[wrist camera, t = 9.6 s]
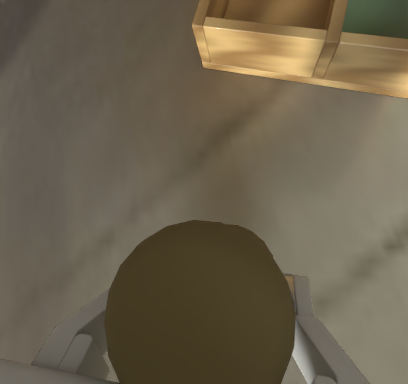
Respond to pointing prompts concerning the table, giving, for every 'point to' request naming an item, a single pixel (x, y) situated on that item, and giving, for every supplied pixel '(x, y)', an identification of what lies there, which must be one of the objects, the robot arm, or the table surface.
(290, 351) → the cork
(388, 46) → the wooden compartment tray
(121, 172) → the table surface
